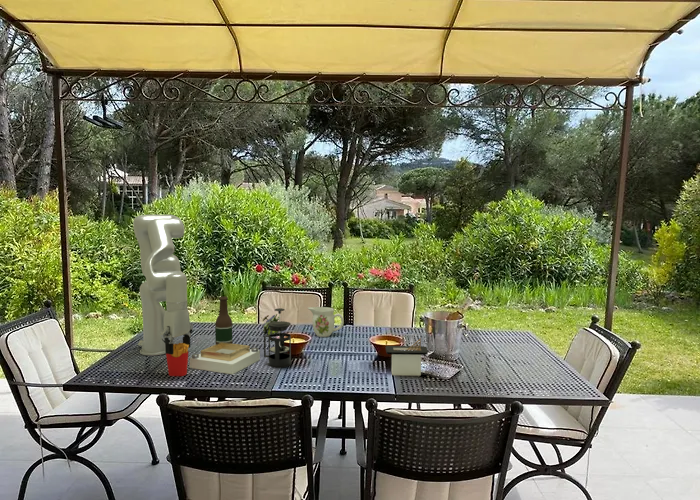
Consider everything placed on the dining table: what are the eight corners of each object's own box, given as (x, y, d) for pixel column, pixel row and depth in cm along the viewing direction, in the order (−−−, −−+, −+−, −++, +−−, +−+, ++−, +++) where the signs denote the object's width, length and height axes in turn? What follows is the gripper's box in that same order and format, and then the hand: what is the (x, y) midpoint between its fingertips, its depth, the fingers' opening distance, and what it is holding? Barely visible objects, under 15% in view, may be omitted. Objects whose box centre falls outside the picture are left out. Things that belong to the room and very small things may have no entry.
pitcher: (342, 338, 254) (343, 310, 252) (306, 337, 254) (306, 310, 253) (344, 332, 265) (344, 306, 263) (308, 332, 265) (308, 305, 264)
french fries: (165, 376, 198) (164, 345, 197) (168, 372, 202) (168, 342, 201) (188, 376, 198) (187, 345, 197) (191, 372, 202) (190, 342, 201)
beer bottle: (228, 353, 228) (227, 299, 226) (212, 352, 230) (211, 298, 227) (235, 348, 236) (235, 295, 234) (219, 347, 237) (219, 295, 235)
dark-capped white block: (444, 363, 218) (445, 330, 216) (458, 388, 190) (459, 349, 188) (360, 363, 218) (360, 329, 216) (361, 387, 190) (362, 348, 188)
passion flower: (266, 342, 265) (265, 320, 271) (287, 339, 264) (285, 317, 270) (260, 335, 255) (259, 312, 261) (282, 331, 255) (280, 309, 261)
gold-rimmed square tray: (189, 367, 208) (189, 352, 207) (219, 354, 227) (219, 339, 226) (232, 374, 201) (232, 357, 200) (259, 359, 219) (259, 344, 219)
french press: (295, 361, 218) (294, 306, 216) (290, 368, 208) (290, 311, 206) (267, 360, 219) (267, 306, 217) (261, 367, 210) (260, 310, 207)
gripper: (184, 301, 207) (185, 344, 208) (152, 309, 191) (154, 355, 192) (199, 302, 204) (200, 345, 206) (169, 310, 188) (170, 357, 189)
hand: (178, 350), depth 199 cm, fingers open, 9 cm apart
